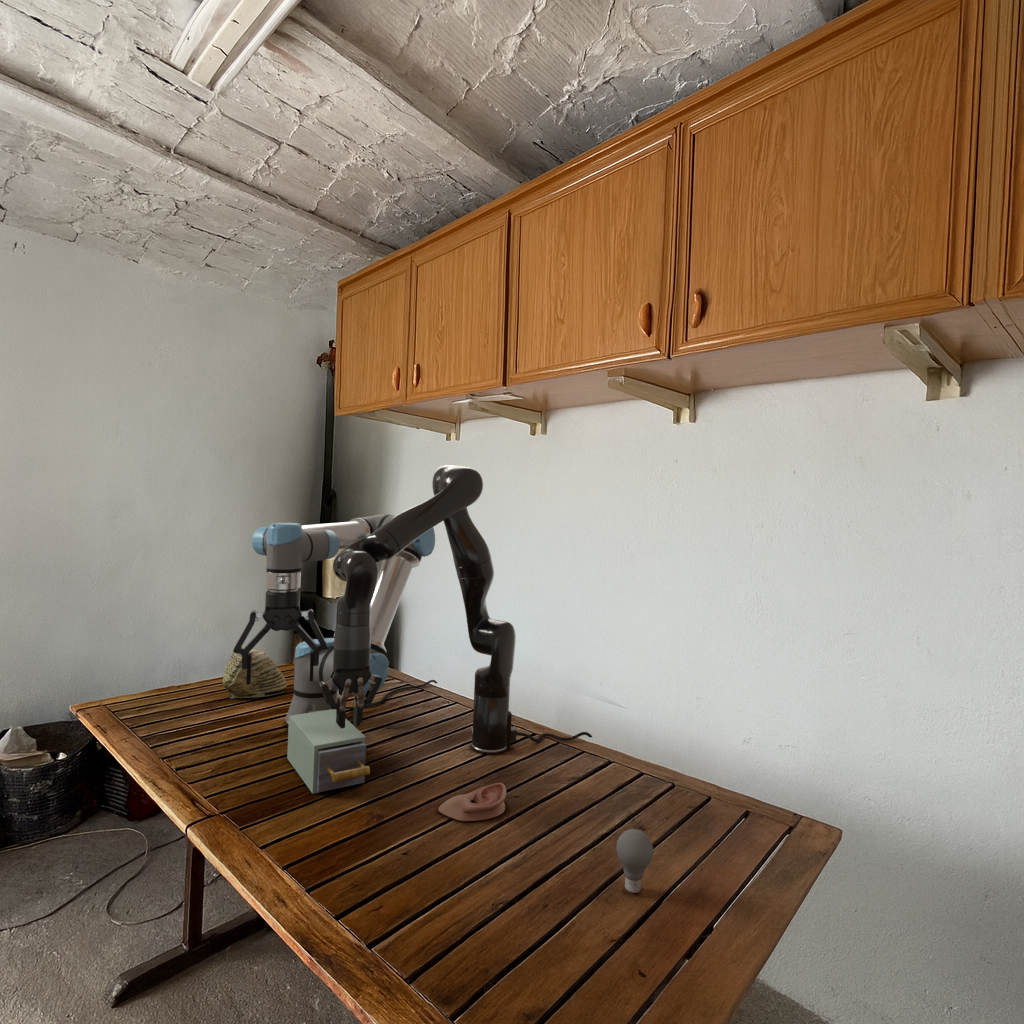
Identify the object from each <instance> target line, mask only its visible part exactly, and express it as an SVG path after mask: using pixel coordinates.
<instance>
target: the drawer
mask: <svg viewBox="0 0 1024 1024" xmlns="http://www.w3.org/2000/svg"><path fill="white" fill-rule="evenodd" d="M366 753H367V744H366V742H365V743H361V744H358V742H356V743H350V744H345V745H339V746H334V747H329V748H323V749H318V773H317V791H318V793H317V794H319V793H323V792H328V791H333V790H336V789H342V788H346V787H350V786H354V785H360V784H364V783H365V782H366V781H365V780H366V776H369V775H371V769H370V768H371V767H370V766H369V765H366V757H367V755H366Z"/></svg>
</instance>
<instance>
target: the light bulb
mask: <svg viewBox="0 0 1024 1024" xmlns="http://www.w3.org/2000/svg"><path fill="white" fill-rule="evenodd" d="M615 849H616V854H617V857H618V859H619V861H620V863H621V865H622V867H623V873H624V874H623V875H624V876H625V878H624V888H625V890H627V891H628V892H630V893H634V894H635V893H639V892H640V891H641V889H642V887H641V886H642V879H643V877H644V875H645V871H646V868H647V867H648V866H649V864H650V863H651V861H652V859H653V855H654V847H653V843H652V841H651V838H649V836H648V835H647V834H646V833H645V832H643V831H642V830H641V829H636V828H629V829H627V830H625V831H623V832H622V833H621V834H620V835H619V837H618V839H617V841H616V847H615Z"/></svg>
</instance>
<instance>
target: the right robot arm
mask: <svg viewBox="0 0 1024 1024" xmlns="http://www.w3.org/2000/svg"><path fill="white" fill-rule="evenodd" d="M431 484H432V486H431V487H432V492H433V497H432V496H431V497H430V498H429V499H427V500H425V501H422V502H421V503H419V504H417V505H414V506H411V507H410V508H408V509H405V510H403V511H401V512H400V513H397V514H395V515H396V516H394V517H393V518H391V519H390V520H388V521H387V522H386V523H385V524H383V525H382V526H381V527H379V528H378V529H377V530H376V531H374V532H373V533H372V534H370V535H368V536H366V537H364V538H362V539H360V540H358V541H356V542H355V543H353V544H351V545H349V546H348V547H346V548H343V549H341V550H340V552H338V553H337V555H336V556H335V557H334V560H333V564H332V570H333V573H334V575H335V576H336V578H337V579H339V580H340V581H343V582H346V585H345V589H344V594H343V595H341V596H339V597H338V599H337V603H336V613H335V614H336V615H335V616H336V617H335V628H334V637H333V638H334V658H333V672H332V674H331V677H330V678H329V679H328V680H326V681H324V682H323V681H320V682H319V684H318V685H319V688H320V690H321V692H322V694H323V696H324V698H325V700H326V702H327V704H328V706H329V707H330V708H331V709H336V723H337V725H338V726H339V727H340V728H341V729H342V728H345V718H346V719H347V717H346V714H347V711H346V709H345V707H347V706H346V705H347V701H348V699H349V695H351V694H350V693H352V692H353V694H354V696H353V698H354V705H353V706H354V709H353V717H352V725H353V726H354V727H360V726H361V723H362V722H363V719H364V718H363V717H364V716H363V715H364V708H365V707H364V706H365V705H367V704H372V703H373V701H374V699H375V697H376V694H377V693H378V691H379V690H380V689H379V686H380V684H381V682H382V678H381V677H380V676H378V675H373V674H371V671H370V668H369V667H370V649H371V628H370V618H371V601H372V598H373V595H374V591H375V587H376V584H377V579H378V573H379V565H378V563H379V562H381V561H384V560H387V559H391V558H393V557H394V556H396V555H397V554H398V553H400V552H401V551H402V550H403V549H405V548H406V547H407V546H408V545H409V544H411V543H412V542H413V541H414V540H416V539H417V538H418V537H420V536H421V535H422V534H424V533H425V532H426V531H428V530H429V529H431V528H432V527H433V528H434V527H435V526H437V525H439V524H440V523H442V522H443V524H444V527H445V531H446V534H447V538H448V542H449V546H450V550H451V553H452V559H453V563H454V564H453V565H454V567H455V572H456V576H457V579H458V583H459V587H460V590H461V595H462V601H463V604H464V611H465V618H466V625H467V633H468V638H469V643H470V645H471V647H472V649H473V650H474V651H475V652H476V653H478V654H482V655H486V656H490V662H489V665H485V666H482V667H479V668H477V669H476V670H475V672H474V686H473V687H474V688H473V689H474V690H473V708H472V709H473V710H472V712H473V713H472V726H471V745H470V747H471V749H472V750H473V751H475V752H476V753H480V754H484V755H497V754H503V753H505V752H506V751H508V750H511V744H512V743H516V742H517V737H518V736H519V737H525V738H528V739H529V740H530V741H532V742H534V743H539V742H540V741H541V739H542V738H544V737H549V738H554V739H556V740H557V741H558V740H559V741H562V742H568V741H573V740H576V739H578V738H579V737H583V736H587V737H588V738H593V735H592V734H591V733H589V732H587V731H580V732H579V733H577V734H575V735H572V736H569V737H563V736H559V735H557V734H553V733H549V732H543V733H541V734H539V736H537V738H534V737H533V736H532V735H530V734H528V733H525V732H519V731H517V729H516V728H515V727H514V726H512V721H513V718H512V716H513V713H512V712H511V711H510V697H511V696H510V695H511V693H510V692H511V676H512V674H513V670H514V663H515V662H514V661H515V653H516V652H515V651H516V641H517V640H516V639H517V638H516V637H517V636H516V635H517V634H516V630H515V627H514V625H513V624H512V623H511V622H509V621H505V620H500V619H494V618H491V617H490V614H489V611H488V607H487V596H488V594H489V592H490V589H491V586H492V584H493V581H494V577H495V570H494V564H493V560H492V554H491V551H490V548H489V545H488V544H487V542H486V540H485V539H484V537H483V536H482V534H481V532H480V531H479V529H478V528H477V527H476V525H475V523H474V522H473V521H472V518H471V516H470V514H469V511H468V507H470V506H471V505H473V504H474V503H475V502H477V501H478V500H479V498H480V497H481V495H482V493H483V491H484V490H483V489H484V481H483V477H482V475H481V474H480V473H479V472H478V471H477V470H476V469H474V468H472V467H468V466H460V465H452V464H445V465H442V466H440V467H438V468H437V469H436V470H435V472H434V473H433V477H432V481H431ZM368 680H369V683H370V684H369V686H368V688H367V690H366V693H365V695H364V689H363V688H364V686H365V685H366V683H367V682H368ZM333 683H334V685H335V686H336V687H337V689H338V690H337V701H336V702H335V700H334V698H333V696H332V694H331V692H330V690H331V689H332V684H333ZM378 689H379V690H378ZM363 707H364V708H363ZM571 737H572V738H571Z"/></svg>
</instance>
